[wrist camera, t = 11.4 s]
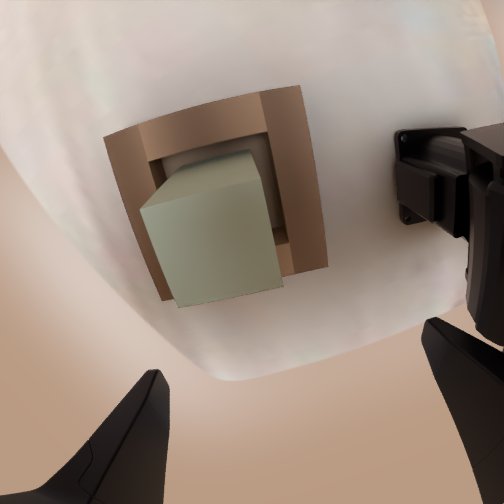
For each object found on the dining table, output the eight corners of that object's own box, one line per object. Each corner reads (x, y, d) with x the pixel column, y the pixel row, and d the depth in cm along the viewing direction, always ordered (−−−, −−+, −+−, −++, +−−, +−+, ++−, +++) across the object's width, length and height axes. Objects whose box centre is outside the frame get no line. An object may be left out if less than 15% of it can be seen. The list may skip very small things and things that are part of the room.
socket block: (289, 89, 15) (299, 85, 12) (315, 244, 20) (328, 266, 17) (123, 132, 16) (103, 137, 13) (170, 275, 20) (162, 301, 17)
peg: (249, 148, 16) (260, 178, 9) (263, 213, 18) (283, 286, 11) (180, 165, 16) (139, 209, 9) (199, 228, 18) (178, 308, 11)
